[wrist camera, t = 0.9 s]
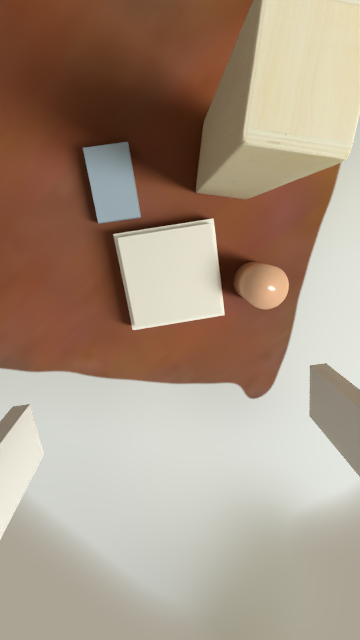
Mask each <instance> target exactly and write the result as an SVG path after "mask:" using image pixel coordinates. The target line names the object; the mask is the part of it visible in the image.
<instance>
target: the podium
mask: <svg viewBox="0 0 360 640" xmlns="http://www.w3.org/2000/svg"><path fill="white" fill-rule="evenodd" d="M113 235H114V240H115V245H116V250H117V255H118V260H119V265H120V270H121V275H122V279H123V284H124V289H125V294H126V299H127V304H128V309H129V314H130V319H131V324H132V328H133V330H137V329H143V328H149V327H155V326H161V325H167V324H173V323H179V322H185V321H192V320H198V319H204V318H210V317H216V316H222V315H225V314H224V305H223V296H222V288H221V279H220V271H219V262H218V253H217V245H216V236H215V227H214V219H207V220H200V221H194V222H188V223H181V224H175V225H169V226H162V227H156V228H150V229H143V230H137V231H130V232H124V233H118V234H113Z"/></svg>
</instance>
